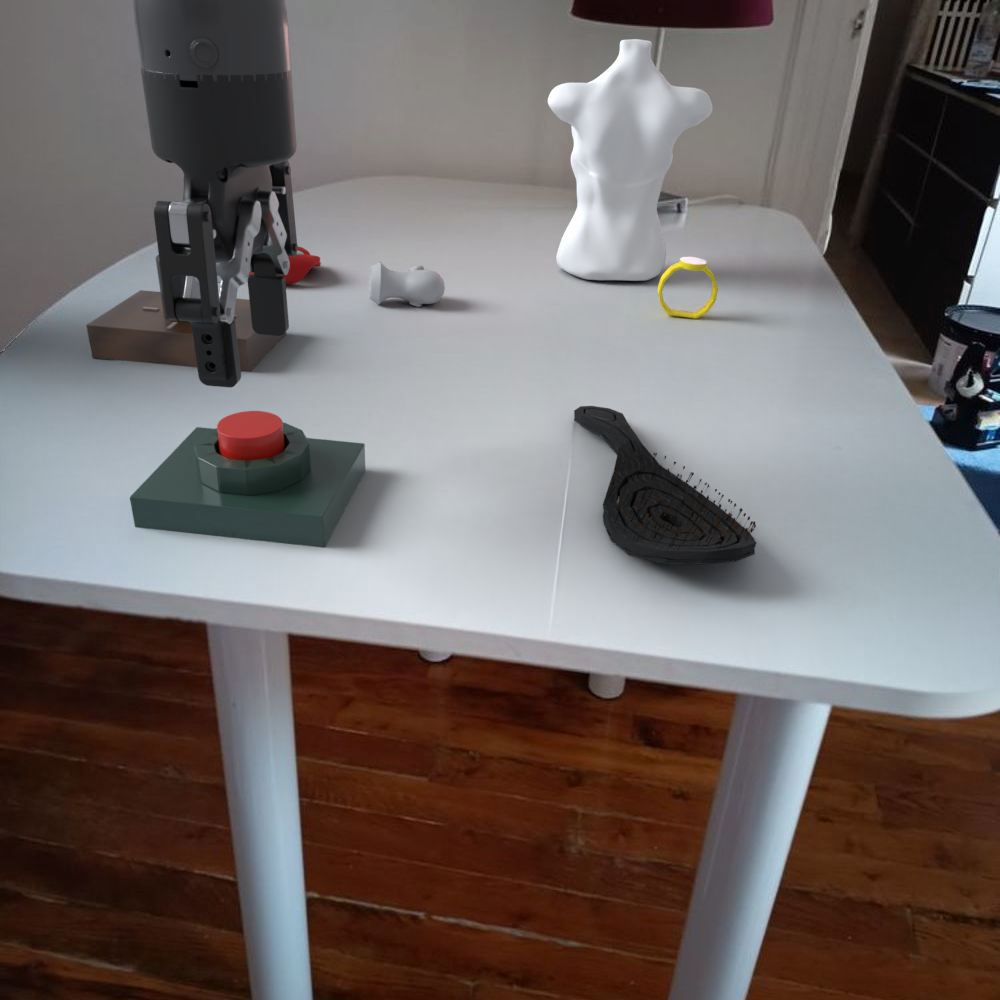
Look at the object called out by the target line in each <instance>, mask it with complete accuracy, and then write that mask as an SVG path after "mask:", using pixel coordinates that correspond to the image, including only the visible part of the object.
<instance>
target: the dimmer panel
mask: <svg viewBox="0 0 1000 1000" xmlns="http://www.w3.org/2000/svg"><path fill="white" fill-rule="evenodd" d="M233 321H235V324H236V333H237V342H238V351H239V360H240V369H241V373H242V372H244V373H250V372H251V371H252V370H253V369H254V368H255V367H256V366H257V365H258V364H259V363H260V361H261V360H263V358H265V356H266V355H267V354H268V353H269V352H271V350H272V349H273V348H274V347H275V346H276V345H277V344H278V343H279V342H280V341H281V340H282V339H283V337H284V336H285V335H287V331H288V330H287V331H286V332H285V333H284V334H283V335H281V336H275V335H262V334H257V333H256V332H255V331H254V330H253V328H252V320H251V310H250V300H249V298H248V299H246V298H237V297H236V304H235V311H234V318H233ZM86 332H87V337H88V342H89V347H90V353H91V358H92V359H99V360H100V359H101V360H108V361H109V360H110V361H123V362H124V361H126V362H136V363H144V364H145V363H146V364H156V365H157V364H158V365H166V366H176V367H178V366H179V367H188V368H189V367H190V368H197V360H196V353H195V345H194V338H193V331H192V324H191V323H190V322H189V321H174V320H169V319H168V318H167V317H166V316H165V315H164V313H163V306H162V299H161V292H160V291H156V290H155V291H153V290H140V289H139V290H138V291H137V292H135V293H134V294H132V295H131V296H129V297H128V298H125V300H123V301H121V302H119V303H118V304H117V305H115V306H114V307H112V308H110V309H108V310H107V311H105V313H103V314H101V315H99V316H98V317H97V318H95V319H94V320H92V321H90V322H89V323H87V324H86Z"/></svg>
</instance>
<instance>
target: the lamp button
mask: <svg viewBox="0 0 1000 1000" xmlns="http://www.w3.org/2000/svg"><path fill="white" fill-rule="evenodd" d="M283 422H284V421H283V420H282V418H281V417H280V416H279V415H277V414H275V413H272V412H269V411H268V412H267V411H261V410H245V411H239V412H234V413H231V414H228V415H227V416H224V417H223V418H221V419H220V420H219V421H218V422H217V425H216V428H217V432H218V440H219V448H220V453H221V455H222V456H224V457H226V458H228V459H234V460H244V461H251V460H258V459H265V458H270V457H272V456H275V455H277V454H279V453H281V452H283V450H284V448H285V445H284V432H283Z"/></svg>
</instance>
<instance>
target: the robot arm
mask: <svg viewBox="0 0 1000 1000" xmlns="http://www.w3.org/2000/svg"><path fill="white" fill-rule="evenodd" d="M131 8H132V9H131V10H132V19H133V27H134V31H135V32H134V33H135V39H136V46H137V53H138V59H139V66H140V67H139V68H140V74H141V81H142V88H143V89H142V90H143V97H144V102H145V109H146V116H147V123H148V129H149V138H150V145H151V149H152V151H153V153H154V154H155V156H156V157H157V158H158V159H160V160H162V161H164V162H165V163H169V164H173V163H174V164H175V165H176V166H177V167H179V168H180V170H181V171H182V172H183V194H182V200H172V201H168V200H157V201H156V202H155V204H154V206H153V218H154V226H155V232H156V233H155V234H156V235H155V236H156V243H157V244H156V245H157V252H158V255H159V261H160V269H161V278H162V286H163V294H164V303H165V311H166V316H167V318H168V319H169V320H174V321H189V322H190V323H191V324H192V331H193V338H194V345H195V353H196V360H197V367H196V369H197V374H198V380H199V381H200V382H201V383H202V384H203V385H205V386H209V387H221V388H233V387H235V386H236V385H237V384H238V383H239V382H240V380H241V379H242V371H241V369H240V360H239V351H238V342H237V333H236V324H235V321H233V318H234V311H235V304H236V298H237V297H238V290H239V288H240V287H241V286H244V285H245V284H247V288H248V300H250V310H251V320H252V328H253V330H254V331H255V332H256V333H257V334H262V335H275V336H281V335H283V334H284V333H285V332H286V331H288V330H289V328H290V321H289V310H288V309H289V308H288V296H287V295H288V294H287V284H286V283H285V276H283V275H287V274H288V271H289V268H290V262H289V258H288V257H295V256H296V254H297V250H298V246H299V245H298V238H297V237H298V236H297V226H296V217H295V216H296V215H295V206H294V198H293V197H294V194H293V183H292V168H291V165H290V161H289V160H290V159H292V158H293V156H295V154H296V151H297V133H296V121H295V119H296V118H295V106H294V105H295V104H294V91H293V90H294V89H293V76H292V62H291V49H290V46H291V45H290V35H289V34H290V32H289V19H288V11H287V5H286V1H285V0H131ZM249 272H254V274H250V275H249ZM181 276H186V282H185V289H184V295H183V293H182V284H181ZM219 284H220V288H219Z"/></svg>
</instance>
